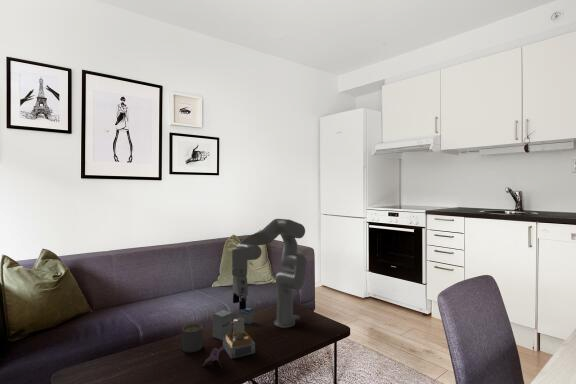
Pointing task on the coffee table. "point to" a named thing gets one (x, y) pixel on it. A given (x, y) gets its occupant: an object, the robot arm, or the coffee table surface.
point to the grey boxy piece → (238, 346)
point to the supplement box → (222, 324)
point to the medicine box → (246, 315)
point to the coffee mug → (192, 337)
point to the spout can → (238, 328)
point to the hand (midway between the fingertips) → (239, 305)
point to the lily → (214, 355)
